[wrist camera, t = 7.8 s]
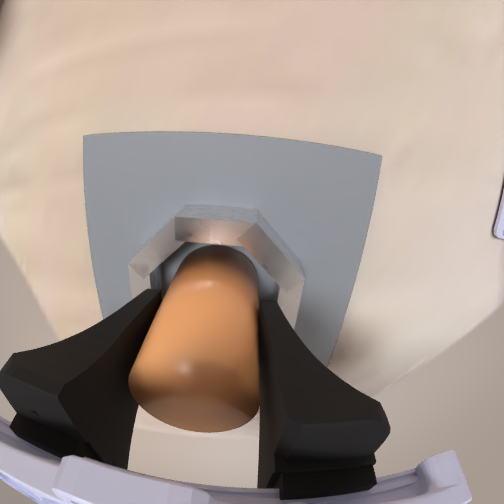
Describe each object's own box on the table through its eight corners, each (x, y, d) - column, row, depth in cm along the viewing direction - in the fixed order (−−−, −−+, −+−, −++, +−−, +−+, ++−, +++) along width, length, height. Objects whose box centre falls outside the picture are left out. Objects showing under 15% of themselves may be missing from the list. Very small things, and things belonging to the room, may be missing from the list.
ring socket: (306, 213, 13) (314, 228, 11) (282, 343, 16) (285, 367, 14) (140, 200, 13) (123, 213, 11) (151, 329, 16) (141, 352, 14)
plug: (262, 249, 13) (268, 362, 7) (253, 319, 15) (252, 436, 9) (176, 241, 13) (116, 342, 7) (177, 311, 15) (140, 421, 8)
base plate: (374, 153, 13) (382, 156, 12) (320, 368, 18) (322, 379, 18) (93, 134, 12) (83, 135, 11) (118, 348, 18) (113, 358, 17)
